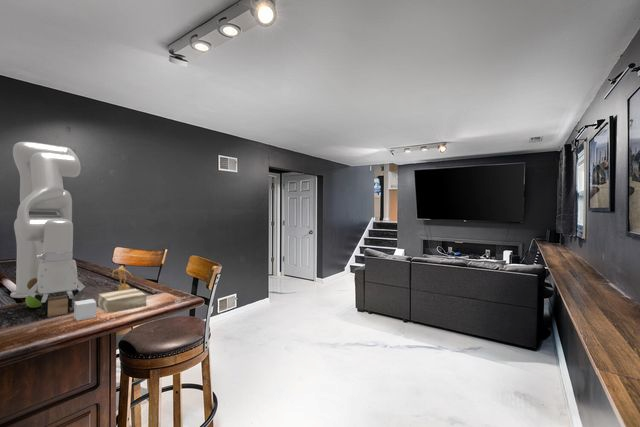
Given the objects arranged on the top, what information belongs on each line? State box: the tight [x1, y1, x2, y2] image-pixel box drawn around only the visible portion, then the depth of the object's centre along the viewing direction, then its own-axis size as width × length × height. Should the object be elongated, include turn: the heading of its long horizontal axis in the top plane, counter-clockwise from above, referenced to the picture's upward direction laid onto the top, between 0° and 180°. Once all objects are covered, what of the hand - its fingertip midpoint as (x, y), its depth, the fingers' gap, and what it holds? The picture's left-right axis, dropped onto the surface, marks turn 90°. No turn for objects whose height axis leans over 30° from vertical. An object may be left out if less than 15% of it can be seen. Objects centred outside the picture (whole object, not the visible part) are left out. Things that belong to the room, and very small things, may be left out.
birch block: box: [97, 287, 148, 314], centre depth 115 cm, size 12×12×4 cm
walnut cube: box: [46, 294, 69, 318], centre depth 105 cm, size 5×5×5 cm
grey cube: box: [73, 298, 97, 322], centre depth 102 cm, size 5×5×5 cm
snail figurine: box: [25, 278, 42, 309], centre depth 110 cm, size 5×6×12 cm
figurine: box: [111, 265, 133, 291], centre depth 129 cm, size 8×6×12 cm
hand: (57, 311), depth 105 cm, fingers closed on walnut cube, 5 cm apart
